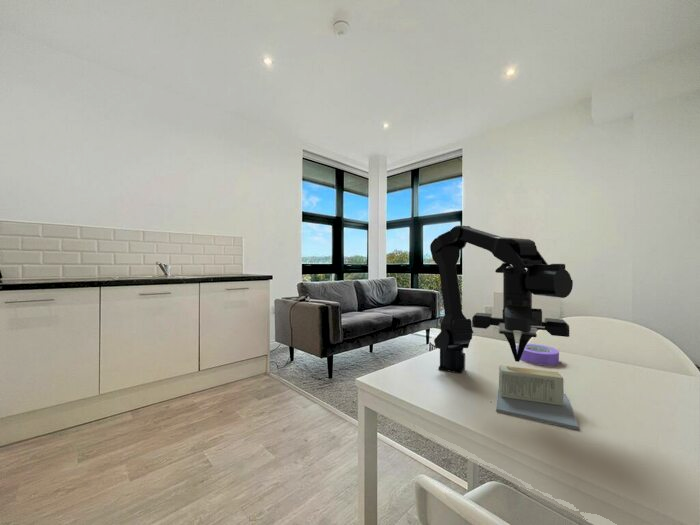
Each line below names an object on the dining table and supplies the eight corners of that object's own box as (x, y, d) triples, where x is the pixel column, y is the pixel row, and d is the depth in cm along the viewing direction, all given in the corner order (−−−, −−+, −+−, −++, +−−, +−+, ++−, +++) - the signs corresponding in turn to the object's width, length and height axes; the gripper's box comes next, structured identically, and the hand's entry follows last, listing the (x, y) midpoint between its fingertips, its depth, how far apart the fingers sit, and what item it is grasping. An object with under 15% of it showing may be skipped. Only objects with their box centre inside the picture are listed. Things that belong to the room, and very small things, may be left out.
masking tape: (568, 364, 92) (568, 352, 92) (538, 367, 89) (538, 355, 89) (535, 353, 104) (535, 342, 104) (508, 355, 101) (508, 344, 101)
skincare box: (498, 389, 71) (557, 399, 67) (500, 397, 67) (563, 408, 63) (499, 363, 71) (558, 371, 67) (501, 369, 67) (564, 378, 63)
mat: (496, 411, 62) (496, 408, 62) (499, 384, 76) (499, 382, 76) (579, 430, 55) (578, 426, 55) (565, 396, 69) (565, 394, 69)
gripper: (469, 294, 65) (469, 364, 65) (574, 299, 56) (574, 381, 56) (474, 290, 74) (474, 351, 74) (565, 294, 65) (565, 364, 65)
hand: (517, 361), depth 67 cm, fingers closed
